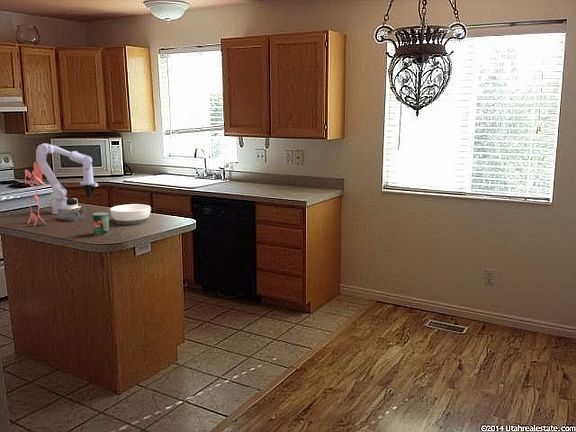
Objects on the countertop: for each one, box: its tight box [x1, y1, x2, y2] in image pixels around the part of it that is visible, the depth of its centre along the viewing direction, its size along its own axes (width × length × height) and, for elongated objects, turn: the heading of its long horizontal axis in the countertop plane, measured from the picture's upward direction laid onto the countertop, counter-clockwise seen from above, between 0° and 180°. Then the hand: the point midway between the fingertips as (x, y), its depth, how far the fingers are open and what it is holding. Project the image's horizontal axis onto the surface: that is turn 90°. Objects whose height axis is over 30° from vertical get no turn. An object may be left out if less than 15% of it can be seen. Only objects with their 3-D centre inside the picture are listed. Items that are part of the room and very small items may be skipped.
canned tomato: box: [91, 211, 111, 237], centre depth 278 cm, size 8×8×11 cm
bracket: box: [57, 209, 86, 223], centre depth 314 cm, size 14×9×6 cm, turn 60°
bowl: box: [109, 203, 152, 226], centre depth 307 cm, size 22×22×8 cm
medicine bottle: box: [64, 198, 83, 216], centre depth 315 cm, size 7×7×12 cm
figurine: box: [24, 161, 56, 227], centre depth 302 cm, size 15×26×35 cm, turn 47°
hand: (90, 197), depth 334 cm, fingers closed
